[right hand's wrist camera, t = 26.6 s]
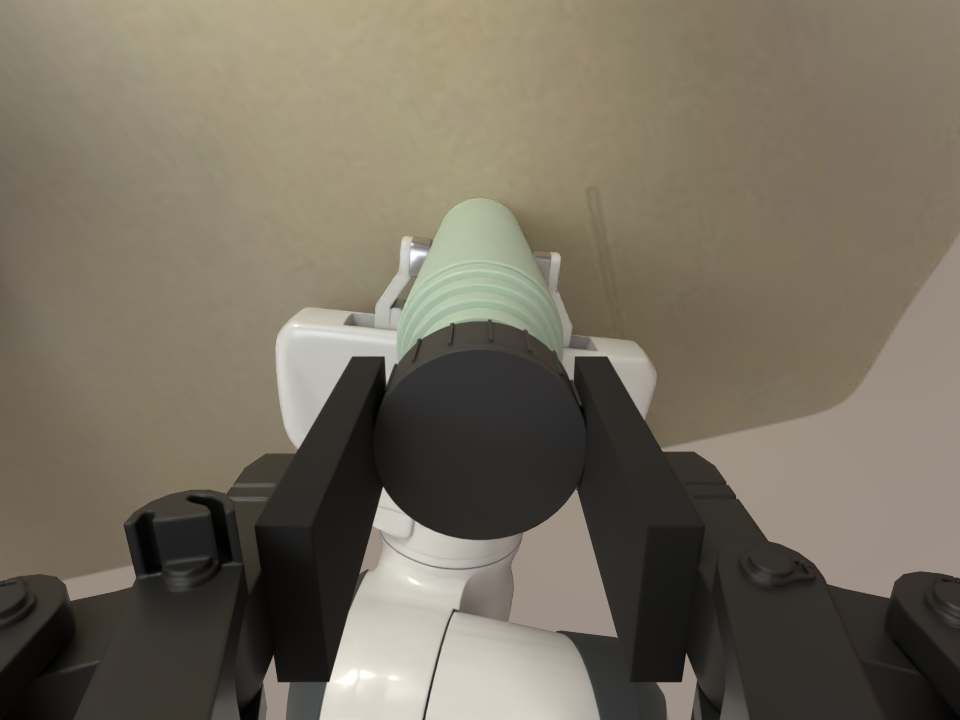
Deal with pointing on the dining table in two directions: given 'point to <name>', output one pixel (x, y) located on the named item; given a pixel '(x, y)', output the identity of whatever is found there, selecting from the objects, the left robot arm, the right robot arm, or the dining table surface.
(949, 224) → the dining table surface
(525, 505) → the cap
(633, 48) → the dining table surface
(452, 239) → the bottle
